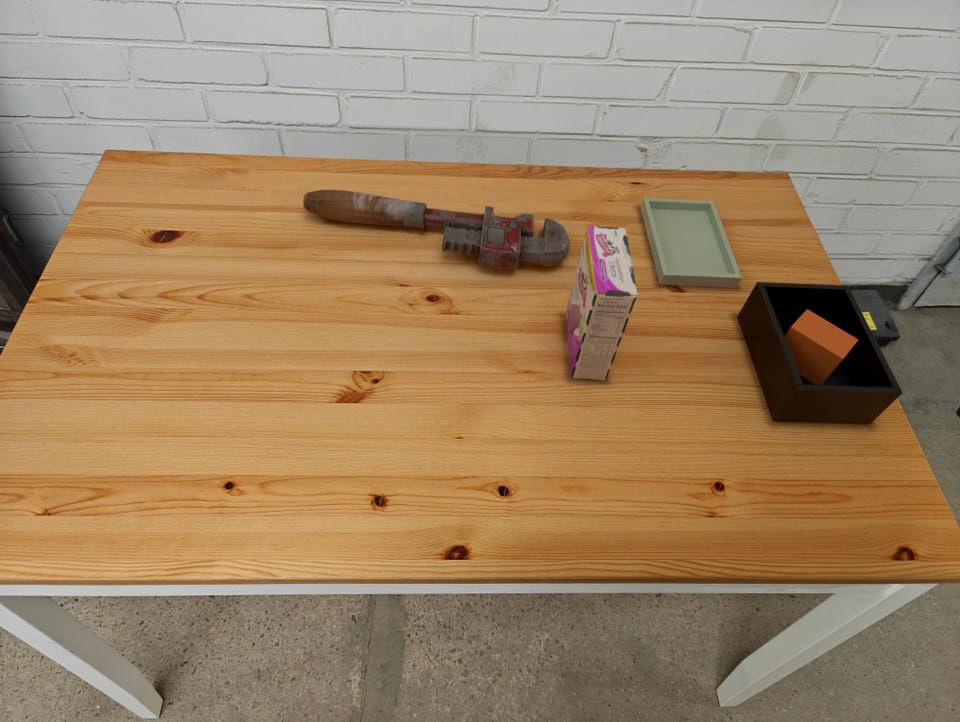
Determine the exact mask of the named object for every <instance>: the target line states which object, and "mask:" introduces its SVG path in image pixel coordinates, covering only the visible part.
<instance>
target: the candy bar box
mask: <svg viewBox="0 0 960 722" xmlns="http://www.w3.org/2000/svg"><path fill="white" fill-rule="evenodd" d="M638 296H639V294H638V287H637V282H636V278H635V271H634V266H633V261H632V256H631V249H630V243H629V238H628V233H627V229H626V227H612V226H611V227H610V226H601V227H600V226H598V225H589V226H587V225H586V228H585V234H584V237H583V241H582V246H581V250H580V255H579V258H578V262H577V267H576V272H575V276H574V280H573V285H572V288H571V292H570V296H569V300H568V305H567V308H566V312H565V323H566V325H565V326H566V334H567V345H568V346H567V347H568V355H569V356H568V357H569V367H570V379H573V380H592V381H607V380H608V377H609V374H610V372H611V370H612V366H613V363H614V361H615V358H616V355H617V353H618V350H619V347H620V344H621V342H622V338H623V336H624V333H625V331H626V328H627V325H628V322H629V320H630V316H631V314H632V311H633V309H634V306H635V303H636V300H637V298H638Z"/></svg>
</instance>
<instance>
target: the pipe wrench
mask: <svg viewBox="0 0 960 722" xmlns="http://www.w3.org/2000/svg"><path fill="white" fill-rule="evenodd" d="M302 206H303V208H304V209H305V211H307V212H308V213H311V214H313V215H316V216H319V217H321V218H324V219H329V220H334V221H340V222H343V223H355V224H365V225H377V226H390V227H404V228H413V229H421V230H423V229H424V228H425V227H426V226H435V227H442V228H444V232H443V237H442V244H441V245H442V246H441V251H442V252H446V251H449V253H455V252H457V253H458V254H463V253H466V255H472V254H475V256H478V265H482V266H485V267H488V268H494V269H501V270H502V269H505V270H515V269H518V268H519V262H528V263H535V264H536V263H537V264H540V265H542V266H543V267H553V266H557V265H559V264H560V263H561V262H562V261H563V260H564V259H565V258H566V257H567V254H568V253H569V250H570V246H571V245H570V238H569V235H568V232H567V229H566V228H565V227H564V226H563V225H562V224H561V223H559V222H558V221H556V220H554V219H551V218H544V221H543V222H544V223H543V227H542V237H534V236H533V234H534V224H535V223H534V222H535V221H534V214H532V213H531V214H529V213H523V214H518V215H516V216H515V217H508V216H501V215H496V214H495V212H494V211H495V210H494V206H488V205H485V208H484V213H476V212H475V213H474V212H467V211H465V212H464V211H457V210H448V209H440V208H432V207H431V208H430V207H427V204H426V202H420V201H411V200H405V199H399V198H393V197H387V196H383V195H377V194H370V193H364V192H358V191H352V190H343V189H342V190H341V189H319V190H314V191H308V192H306V193H304V195H303V199H302Z"/></svg>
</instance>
